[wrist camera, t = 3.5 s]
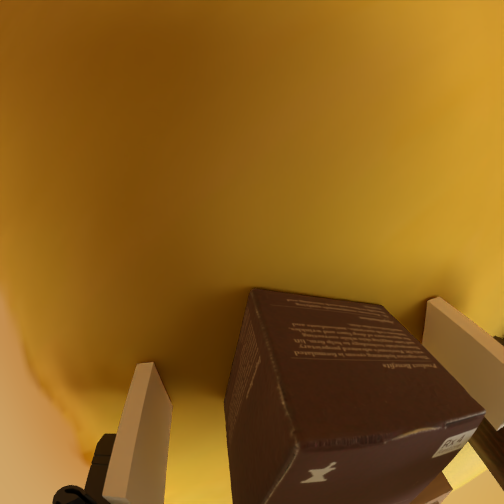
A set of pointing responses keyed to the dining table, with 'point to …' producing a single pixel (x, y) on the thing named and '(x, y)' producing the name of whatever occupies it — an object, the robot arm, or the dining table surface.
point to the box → (337, 405)
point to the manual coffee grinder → (490, 448)
